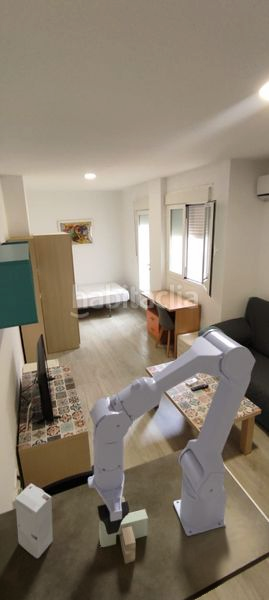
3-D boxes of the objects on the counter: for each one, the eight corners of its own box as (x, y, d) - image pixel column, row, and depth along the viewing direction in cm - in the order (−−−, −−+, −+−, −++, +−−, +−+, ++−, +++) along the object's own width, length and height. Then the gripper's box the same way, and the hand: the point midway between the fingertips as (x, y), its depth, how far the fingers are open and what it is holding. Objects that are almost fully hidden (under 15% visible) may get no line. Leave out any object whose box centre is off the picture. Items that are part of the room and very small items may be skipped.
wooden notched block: (123, 513, 67) (123, 496, 66) (135, 560, 58) (135, 542, 57) (115, 515, 67) (115, 498, 66) (125, 563, 58) (125, 545, 56)
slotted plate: (144, 526, 65) (145, 509, 63) (147, 535, 63) (147, 517, 61) (99, 538, 62) (99, 520, 61) (100, 548, 60) (100, 529, 59)
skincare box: (17, 543, 61) (12, 498, 57) (34, 525, 64) (30, 481, 61) (38, 560, 58) (34, 514, 54) (55, 540, 62) (52, 495, 58)
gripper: (83, 435, 62) (85, 486, 65) (92, 497, 48) (94, 556, 52) (116, 430, 63) (116, 479, 67) (134, 488, 50) (132, 546, 54)
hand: (109, 512), depth 60 cm, fingers open, 7 cm apart
